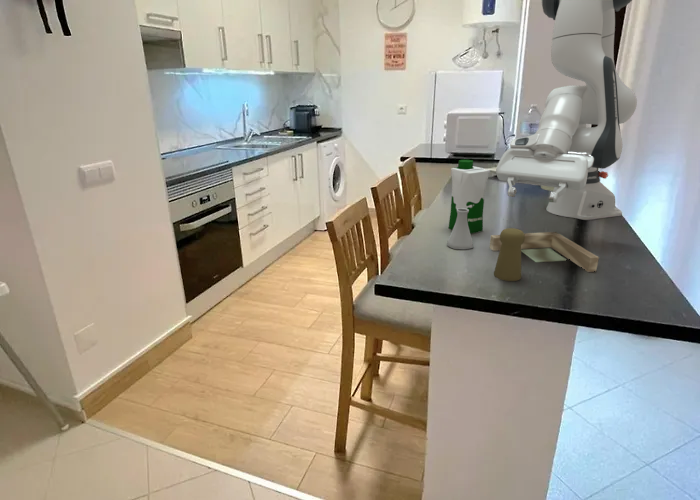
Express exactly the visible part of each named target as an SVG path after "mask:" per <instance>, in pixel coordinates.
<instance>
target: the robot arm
mask: <svg viewBox="0 0 700 500" xmlns="http://www.w3.org/2000/svg"><path fill="white" fill-rule="evenodd" d="M632 1H633V0H541V6H542V11H543V13H544V14H545V16H547V17H548V18H550V19H552V20H553V21H554V24H553V30H552V36H551V37H552V39H551V45H550V48H551V49H550V58H551V60H550V61H551V64H552V65H553V67H554V68H555V70H556V71H557V72H559V73H560V74H561V75H563V76H566V77H569V78H572V79H574V80H577V81H581V82H584V83H585V85H567V86H566V85H565V86H561V87H555V88H554V89H552V90H551V91H550V92H549V93H548V95H547V97H546V99H545V102H544V111H543V113H542V114H541V117H540V120H539V123H538V129H537V130H536V132H535V133H534V134H532V135H528V136H523V137H517V138H513V139H512V140H511V141H510V142H509V143H510V144H509V147H510V148H509V149H506V151H504V153H503V154H502V155H501V158H500V159H499V161H498V163H497V166H496V168H495V174H496V176H497V179H498V180H499V181H501V182H507V183H508V186H509V187H508V190H507V196H508V197H514V198H515V197H516V195H517V192H518V190H517V188H516V187H514V186H515V185H516V183H517V184H518V183H519V184H525V185H532V186H540V187H541V186H549V187H554V190H553V191H551V192H550V195H549V196H548V200H549V201H548V204H547V206H546V211H547V212H548V213H550V214H553V215H558V216H561V217H565V218H566V217H567V218H572V219H573V218H575V219H579V220H583V221H589V220H590V221H591V220H598V219H604V218H606V219H607V218H611V217H620V216H622V215H623V212H622V210H621V209H619V208H618V207H616V196H615V194H614V192H612V191H611V190H610V189H609V188H608V187H606V186H605V185H604V184H603V183H602V182H601V179H600V178H602V179H603V180H604V179H605V180H606V179H607V178H608V176H609V173H608V172H607V171H603V170H604V169H606V168H608V167H610V166H612V165H613V164H615V163H616V162H617V161H618V160H619V159H620V158H621V155H622V152H623V138H622V135H621V126H620V124H621V125H622V124H625V123H626V122H627V121H628V120H630V119H631V117H632V116H633V115H634V114H635V112H636V109H637V103H638V99H637V96H636V94H635V92H634V90H633V89H631V88H630V87H628V86H627V84H625V83H624V82H623V81H622V79H621V77H620V76H619V74H618V72H617V69H616V66H615V60H614V58H615V57H614V56H615V54H614V52H615V51H614V50H615V49H614V47H615V46H614V45H615V31H616V28H615V27H616V13H615V12H619V11H621V9H622V8H624V7H626V6H628V5H629V4H630V3H631V2H632ZM587 125H595V126H593V127H587ZM596 125H597V126H596ZM598 169H601V170H602V171H600V170H598Z"/></svg>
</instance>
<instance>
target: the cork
mask: <svg viewBox="0 0 700 500" xmlns="http://www.w3.org/2000/svg"><path fill="white" fill-rule="evenodd" d="M499 235H500V241H501V243H502V244H501V248H500V250H499V253H498V257H497V260H496V264H495V268H494V271H493V276H494V278H497V279H499V280H502V281H505V282H516V281H519V280H521V279H522V252H521V250H522V249H521V245H522V244H523V243H524V240H525V233H524V231H523V230H521V229H518V228H514V227H509V228H508V227H507V228H504V229H503V230H502V231H500V234H499Z"/></svg>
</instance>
